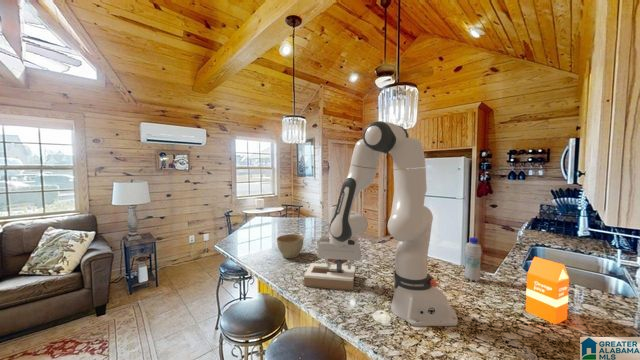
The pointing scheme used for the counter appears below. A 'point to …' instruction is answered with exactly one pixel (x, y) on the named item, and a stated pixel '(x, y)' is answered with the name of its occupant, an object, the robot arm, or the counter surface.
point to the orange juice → (547, 290)
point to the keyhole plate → (329, 277)
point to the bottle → (472, 260)
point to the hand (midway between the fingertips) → (339, 268)
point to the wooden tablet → (335, 260)
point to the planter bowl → (290, 245)
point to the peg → (339, 266)
